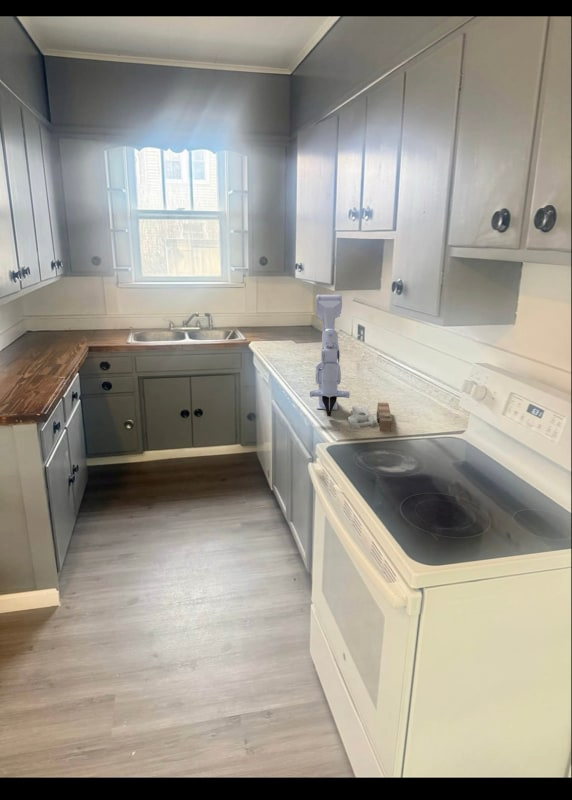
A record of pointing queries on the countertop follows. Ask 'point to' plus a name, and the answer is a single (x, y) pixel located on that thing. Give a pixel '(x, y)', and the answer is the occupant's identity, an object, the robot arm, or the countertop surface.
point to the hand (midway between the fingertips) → (329, 415)
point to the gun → (361, 417)
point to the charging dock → (384, 417)
